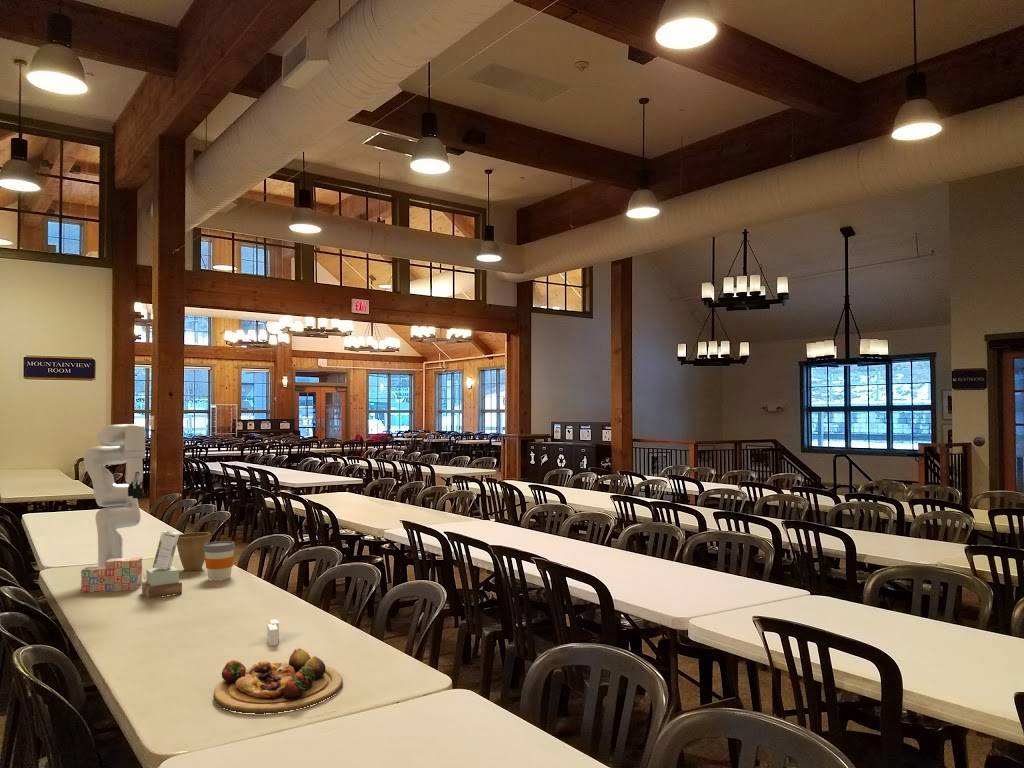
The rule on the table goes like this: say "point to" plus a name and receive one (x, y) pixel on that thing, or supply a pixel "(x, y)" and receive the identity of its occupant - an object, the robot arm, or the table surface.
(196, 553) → the plant pot
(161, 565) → the syrup box
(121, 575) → the stack of blocks
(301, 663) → the wooden plate with food
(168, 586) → the tower base block
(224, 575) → the reusable coffee cup
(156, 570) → the tower top block
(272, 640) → the napkin holder
